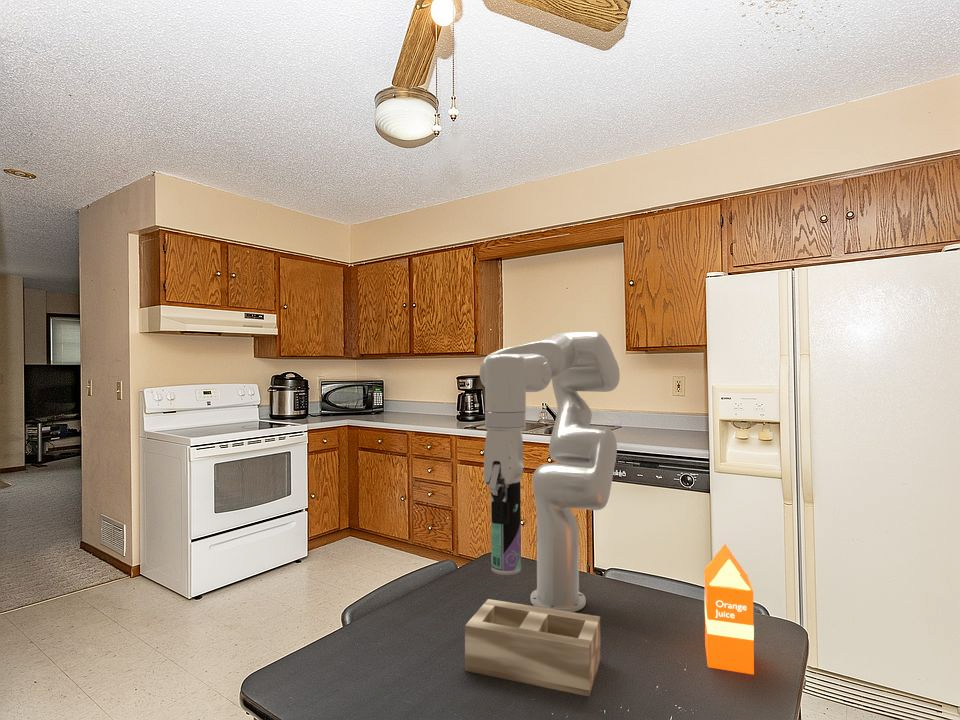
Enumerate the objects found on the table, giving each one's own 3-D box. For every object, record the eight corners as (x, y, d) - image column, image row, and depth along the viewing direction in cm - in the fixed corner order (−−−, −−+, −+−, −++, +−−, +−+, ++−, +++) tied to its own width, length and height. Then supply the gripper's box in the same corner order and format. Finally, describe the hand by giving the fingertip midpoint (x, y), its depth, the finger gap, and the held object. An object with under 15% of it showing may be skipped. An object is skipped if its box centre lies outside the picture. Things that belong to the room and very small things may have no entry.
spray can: (518, 576, 99) (518, 464, 100) (488, 573, 100) (488, 463, 101) (522, 565, 105) (522, 459, 105) (494, 563, 106) (493, 458, 106)
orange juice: (748, 650, 106) (747, 545, 106) (754, 674, 97) (753, 560, 97) (704, 643, 108) (703, 540, 108) (706, 667, 100) (705, 555, 100)
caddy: (488, 639, 110) (488, 598, 110) (600, 660, 102) (600, 616, 102) (465, 670, 99) (464, 625, 99) (589, 696, 91) (588, 647, 91)
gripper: (501, 416, 112) (501, 506, 112) (469, 425, 96) (469, 529, 96) (537, 417, 109) (537, 509, 109) (510, 426, 93) (511, 534, 93)
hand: (505, 518), depth 103 cm, fingers closed on spray can, 5 cm apart
